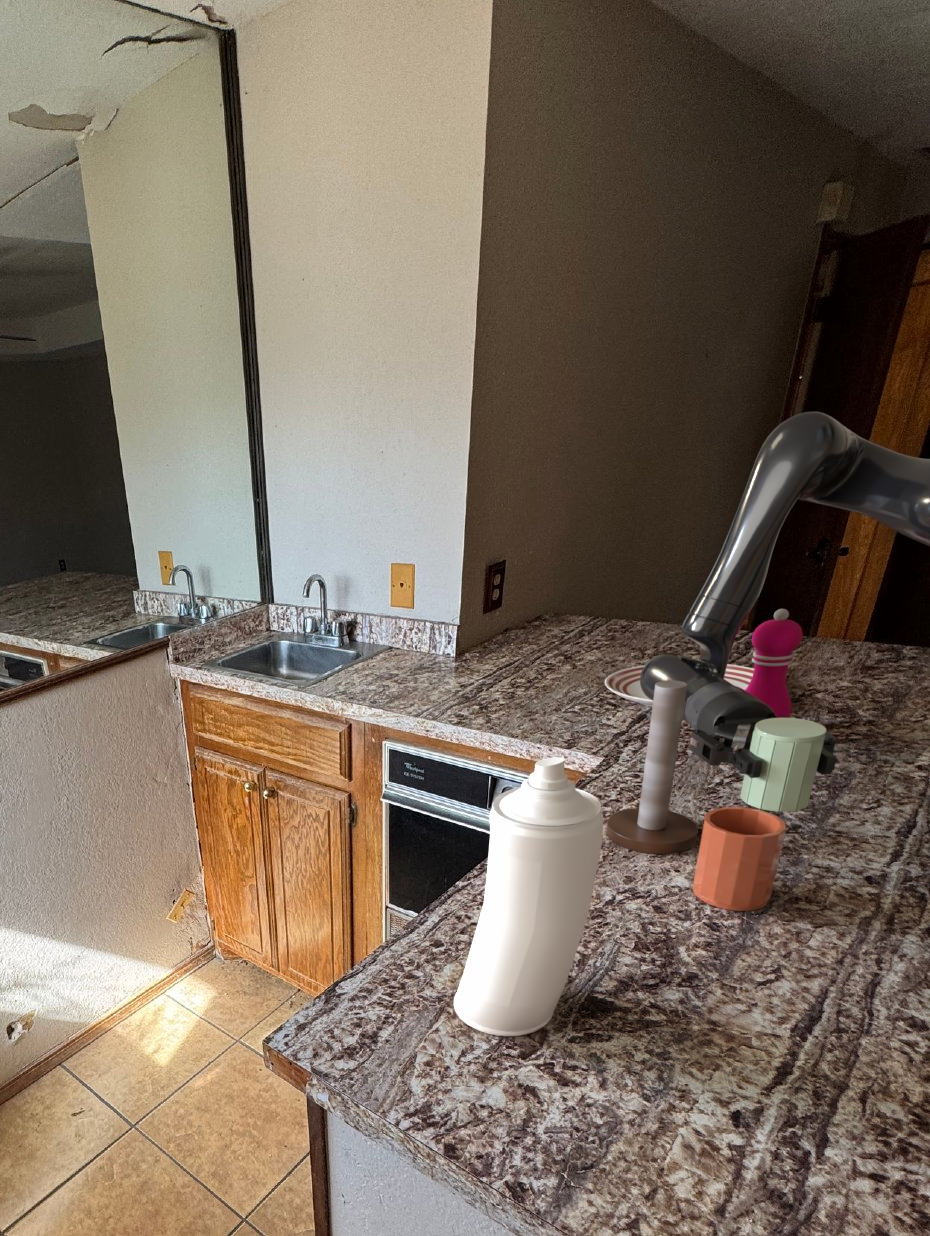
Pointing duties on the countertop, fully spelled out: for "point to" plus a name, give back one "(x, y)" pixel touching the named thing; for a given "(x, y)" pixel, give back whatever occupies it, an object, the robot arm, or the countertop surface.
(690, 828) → the towel holder
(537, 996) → the spray can
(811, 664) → the countertop surface
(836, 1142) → the countertop surface
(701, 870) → the cup
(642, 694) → the dinner plate
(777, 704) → the pepper mill
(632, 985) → the countertop surface
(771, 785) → the cup
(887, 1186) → the countertop surface
